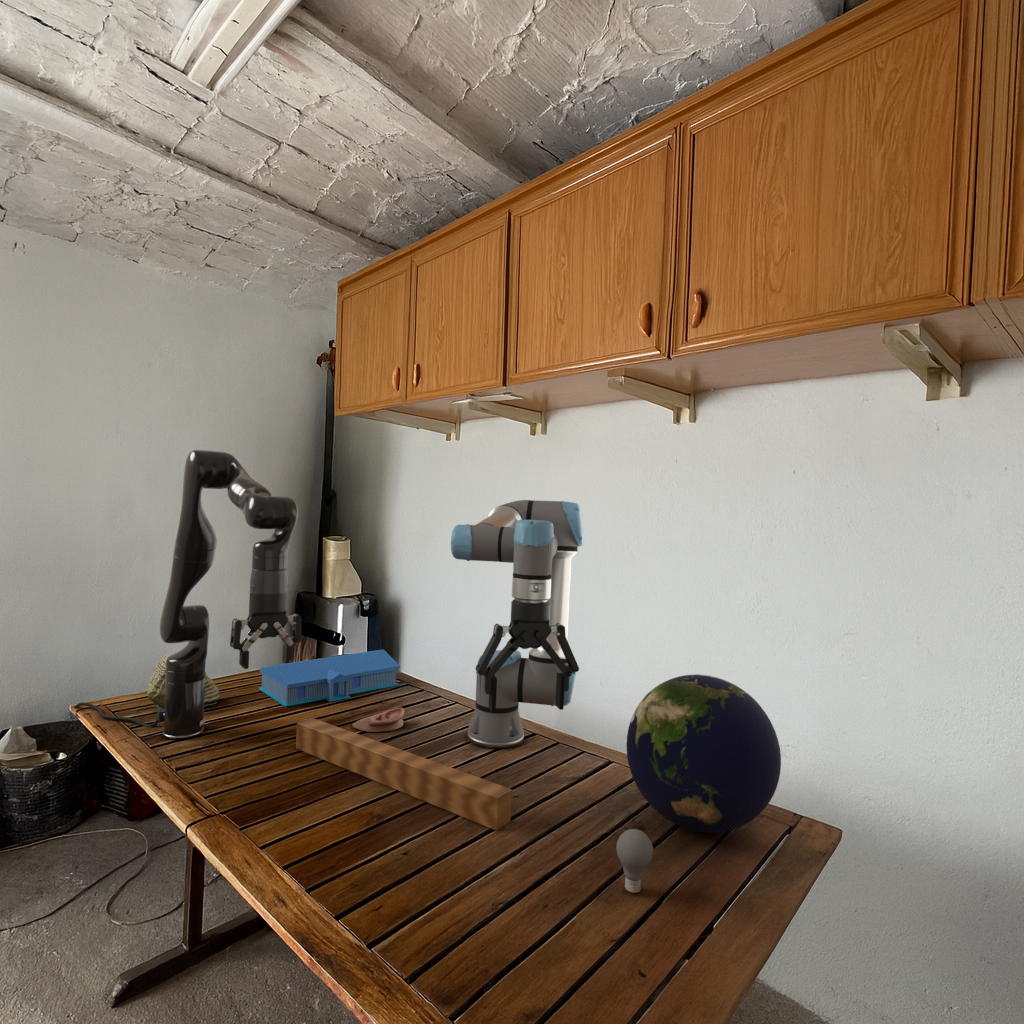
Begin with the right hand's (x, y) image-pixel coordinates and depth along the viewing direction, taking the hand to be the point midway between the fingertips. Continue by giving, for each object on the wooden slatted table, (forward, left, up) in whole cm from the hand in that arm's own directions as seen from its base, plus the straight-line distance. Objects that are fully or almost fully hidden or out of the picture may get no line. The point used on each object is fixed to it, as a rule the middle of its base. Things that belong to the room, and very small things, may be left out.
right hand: (526, 709), depth 123 cm
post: (-17, -30, -24) cm, 42 cm away
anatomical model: (-50, -43, -24) cm, 70 cm away
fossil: (-54, -102, -24) cm, 118 cm away
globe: (-9, +35, -24) cm, 44 cm away
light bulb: (+16, +20, -24) cm, 35 cm away
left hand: (-8, -56, +3) cm, 57 cm away
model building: (-80, -67, -24) cm, 107 cm away
